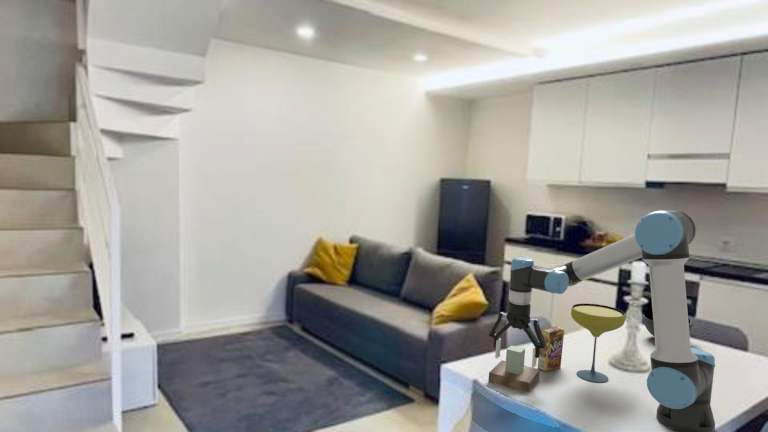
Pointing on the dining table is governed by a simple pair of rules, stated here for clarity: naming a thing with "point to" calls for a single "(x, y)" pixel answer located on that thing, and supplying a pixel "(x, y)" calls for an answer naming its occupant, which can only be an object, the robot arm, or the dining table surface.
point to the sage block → (515, 360)
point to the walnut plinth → (514, 377)
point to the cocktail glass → (596, 330)
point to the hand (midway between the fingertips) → (515, 361)
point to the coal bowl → (649, 320)
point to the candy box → (551, 349)
